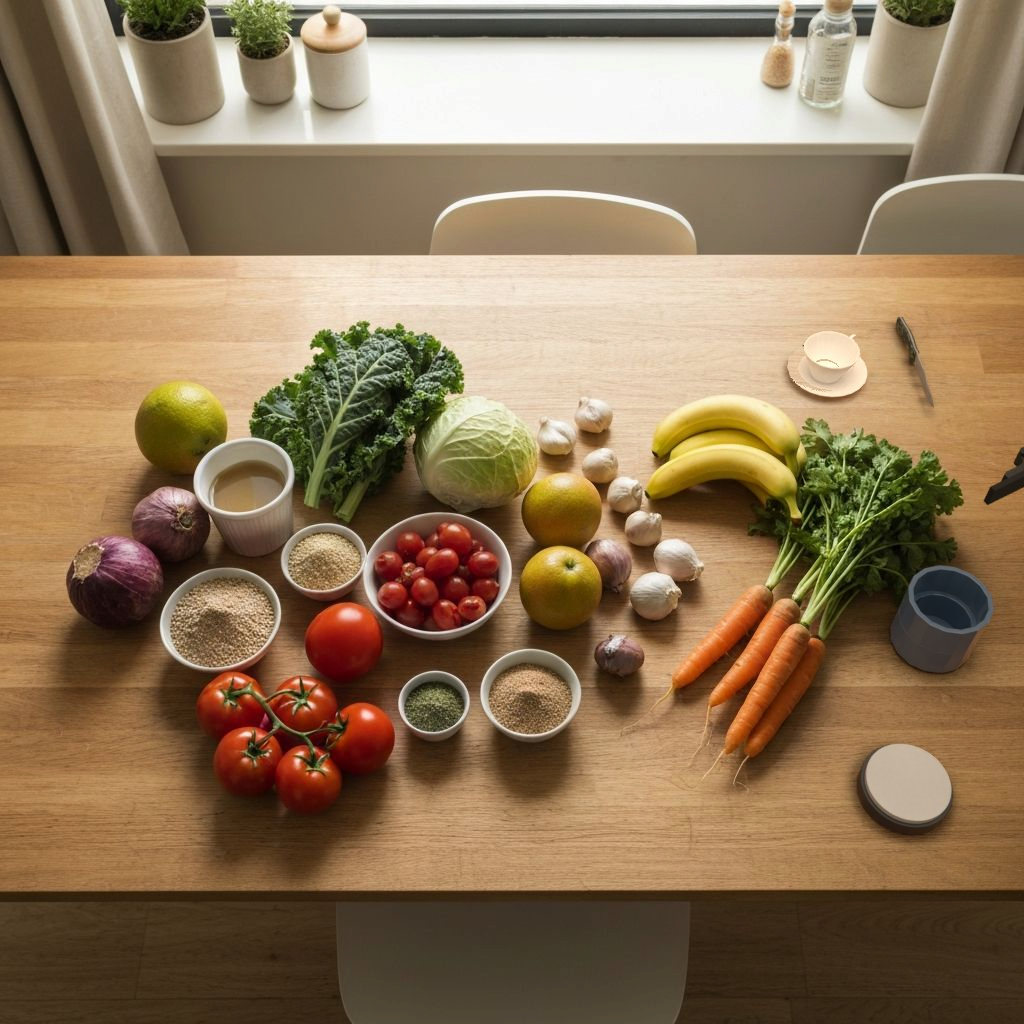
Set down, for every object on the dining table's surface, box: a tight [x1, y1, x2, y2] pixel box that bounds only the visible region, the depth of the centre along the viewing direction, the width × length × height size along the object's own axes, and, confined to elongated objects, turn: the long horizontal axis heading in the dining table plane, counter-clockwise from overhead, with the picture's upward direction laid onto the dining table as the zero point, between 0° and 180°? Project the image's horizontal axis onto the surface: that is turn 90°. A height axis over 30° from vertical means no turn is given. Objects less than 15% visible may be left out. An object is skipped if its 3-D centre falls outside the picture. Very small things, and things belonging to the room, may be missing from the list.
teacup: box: [790, 330, 868, 398], centre depth 162 cm, size 12×12×5 cm
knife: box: [895, 316, 935, 409], centre depth 163 cm, size 20×1×3 cm, turn 1°
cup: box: [889, 564, 995, 674], centre depth 130 cm, size 10×10×10 cm
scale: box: [856, 743, 954, 836], centre depth 121 cm, size 10×10×3 cm
